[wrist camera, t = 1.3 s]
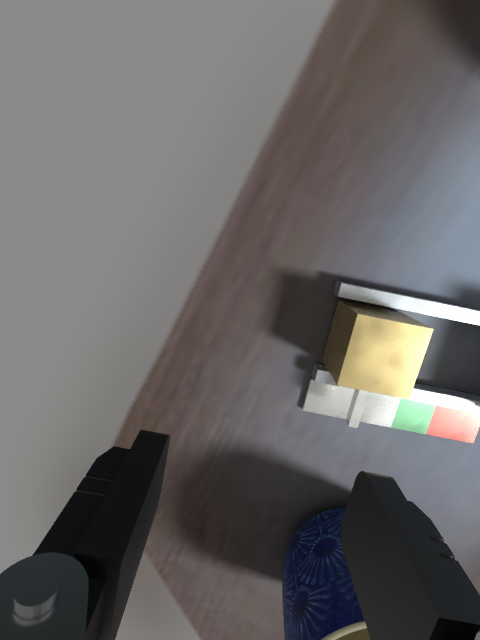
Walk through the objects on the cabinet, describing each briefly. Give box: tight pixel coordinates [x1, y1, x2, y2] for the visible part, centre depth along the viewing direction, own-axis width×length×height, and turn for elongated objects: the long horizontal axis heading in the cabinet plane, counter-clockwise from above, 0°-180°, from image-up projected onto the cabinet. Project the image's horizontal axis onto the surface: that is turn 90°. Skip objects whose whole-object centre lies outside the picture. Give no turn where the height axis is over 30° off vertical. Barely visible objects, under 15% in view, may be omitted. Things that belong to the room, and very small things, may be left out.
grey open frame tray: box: [302, 280, 480, 443], centre depth 26 cm, size 11×17×6 cm, turn 79°
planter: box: [283, 507, 370, 640], centre depth 28 cm, size 12×12×11 cm
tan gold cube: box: [322, 300, 433, 428], centre depth 26 cm, size 8×5×5 cm, turn 169°
